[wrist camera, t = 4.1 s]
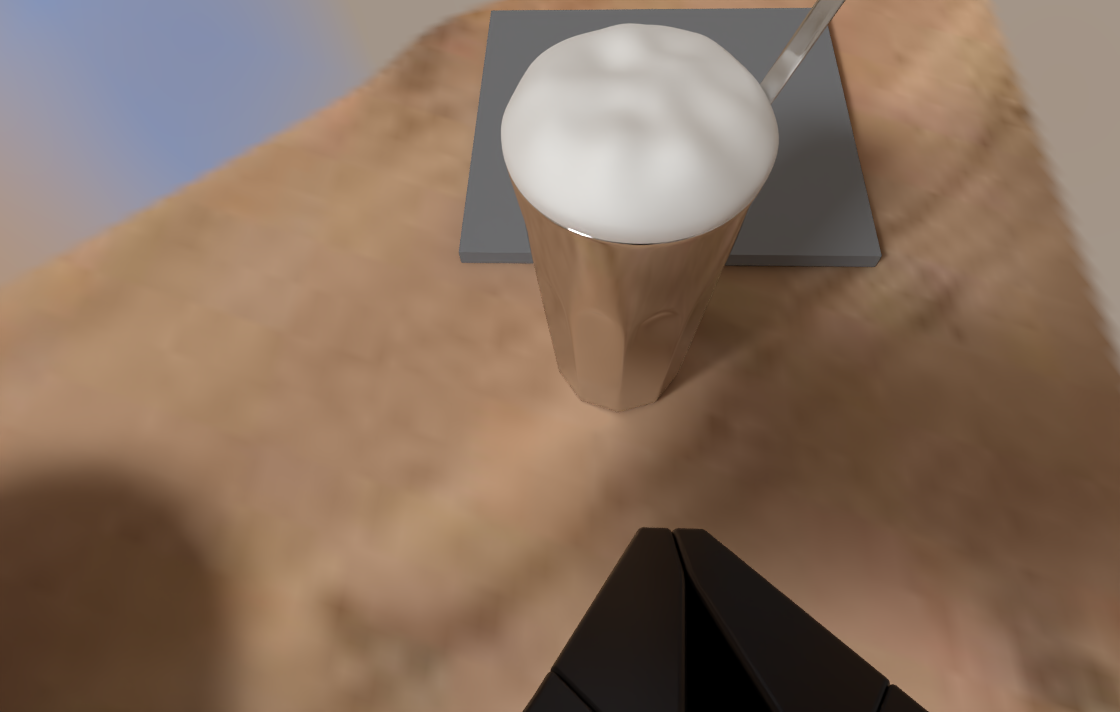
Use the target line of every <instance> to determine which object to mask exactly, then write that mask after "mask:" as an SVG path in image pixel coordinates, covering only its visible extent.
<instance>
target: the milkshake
mask: <svg viewBox="0 0 1120 712" xmlns="http://www.w3.org/2000/svg"><path fill="white" fill-rule="evenodd" d="M844 2H845V0H817V1H816V3H815V4H814V6H813V7H812V9H811V10H810V11H809V13H808V14H807V16H806V17H805V19H804V20H803V22H802V23H801V25H800V26H799V28H798V29H797V31H796V32H795V33H794V35H793V36H792V38H791V39H790V41H789V42H788V44H787V45H786V47H785V48H784V50H783V51H782V53H781V54H780V56H779V57H778V58H777V60H776V61H775V63H774V64H773V66H772V67H771V69H770V70H769V72H768V73H767V75H766V76H765V78H764V79H763V80H762V82H761V83H760V84H759V83H758V81H757V80H756V79H755V78H754V77H753V75H752V74H751V73H750V72H749V71H748V70H747V69H746V68H745V67H744V66H743V65H742V64H741V63H740V62H739V61H738V60H736V59H735V58H734V57H733V56H732V55H731V54H730V53H729V52H728V51H726V50H725V49H724V48H723V47H721V46H720V45H719V44H717V43H716V42H714V41H713V40H711V39H710V38H708V37H706V36H704V35H701V34H698V33H694V32H690V31H686V30H683V29H678V28H674V27H669V26H661V25H645V24H633V23H628V24H619V25H614V26H610V27H607V28H603V29H600V30H596V31H592V32H588V33H584V34H580V35H577V36H574V37H571V38H568V39H566V40H564V41H561V42H559V43H557V44H556V45H554V46H552V47H550V48H549V49H547V50H546V51H544V52H543V53H542V54H541V55H539V56H538V57H537V58H536V59H535V60H534V61H533V62H532V64H531V65H530V66H529V68H528V69H527V71H526V72H525V74H524V75H523V77H522V79H521V80H520V82H519V84H518V86H517V88H516V90H515V91H514V93H513V95H512V97H511V99H510V101H509V103H508V105H507V107H506V109H505V112H504V115H503V118H502V124H501V143H502V151H503V156H504V160H505V163H506V167H507V171H508V174H509V178H510V181H511V185H512V188H513V192H514V195H515V199H516V202H517V206H518V209H519V213H520V216H521V220H522V223H523V227H524V230H525V234H526V237H527V241H528V245H529V248H530V252H531V256H532V259H533V263H534V268H535V272H536V276H537V281H538V285H539V289H540V294H541V298H542V302H543V307H544V311H545V315H546V319H547V323H548V328H549V332H550V336H551V340H552V345H553V349H554V353H555V357H556V361H557V365H558V369H559V372H560V373H561V375H562V376H563V377H564V379H565V380H566V381H567V383H568V384H569V385H570V387H571V388H572V389H573V391H574V392H575V393H576V395H577V396H578V397H579V399H580V400H581V401H584V402H587V403H590V404H593V405H596V406H600V407H603V408H606V409H609V410H612V411H615V412H621V411H625V410H628V409H632V408H636V407H639V406H643V405H647V404H651V403H654V402H656V400H657V399H658V398H659V396H660V395H661V394H662V393H663V391H664V390H665V389H666V388H667V386H668V385H669V384H670V383H671V381H672V380H673V379H674V378H675V376H676V375H677V374H678V372H679V369H680V367H681V365H682V363H683V360H684V358H685V356H686V353H687V351H688V349H689V346H690V344H691V342H692V340H693V337H694V335H695V333H696V330H697V328H698V326H699V323H700V321H701V319H702V316H703V314H704V312H705V309H706V307H707V305H708V302H709V300H710V298H711V296H712V293H713V291H714V288H715V286H716V284H717V281H718V279H719V277H720V274H721V272H722V270H723V268H724V265H725V263H726V261H727V259H728V257H729V255H730V253H731V251H732V249H733V247H734V245H735V243H736V241H737V239H738V237H739V235H740V233H741V231H742V229H743V227H744V225H745V223H746V220H747V218H748V216H749V214H750V212H751V210H752V208H753V206H754V204H755V202H756V200H757V198H758V196H759V194H760V192H761V190H762V188H763V186H764V183H765V181H766V180H767V178H768V176H769V174H770V172H771V170H772V168H773V165H774V163H775V159H776V156H777V152H778V146H779V133H778V126H777V122H776V118H775V115H774V112H773V109H772V107H771V104H772V102H773V101H774V100H775V98H776V97H777V95H778V94H779V93H780V91H781V90H782V88H783V87H784V86H785V84H786V83H787V81H788V80H789V79H790V77H791V76H792V74H793V73H794V72H795V70H796V69H797V67H798V66H799V65H800V63H801V62H802V60H803V59H804V58H805V56H806V55H807V53H808V52H809V51H810V49H811V48H812V46H813V45H814V44H815V42H816V41H817V39H818V38H819V37H820V35H821V34H822V32H823V31H824V30H825V28H826V27H827V25H828V24H829V23H830V21H831V20H832V18H833V17H834V16H835V14H836V13H837V11H838V10H839V9H840V7H841V6H842V4H843V3H844Z"/></svg>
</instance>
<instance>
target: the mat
mask: <svg viewBox="0 0 1120 712" xmlns="http://www.w3.org/2000/svg"><path fill="white" fill-rule="evenodd" d="M811 9H812V8H756V9H634V10H512V11H491V17H490V24H489V32H488V39H487V47H486V54H485V61H484V69H483V76H482V84H481V91H480V98H479V106H478V113H477V121H476V128H475V135H474V143H473V150H472V158H471V165H470V173H469V180H468V187H467V195H466V202H465V210H464V217H463V224H462V232H461V239H460V247H459V255H460V259H461V262H462V263H533V259H532V256H531V252H530V248H529V245H528V241H527V237H526V234H525V230H524V227H523V223H522V220H521V216H520V213H519V209H518V206H517V202H516V199H515V195H514V192H513V188H512V185H511V181H510V178H509V174H508V171H507V167H506V163H505V160H504V156H503V151H502V143H501V124H502V118H503V115H504V112H505V109H506V107H507V105H508V103H509V101H510V99H511V97H512V95H513V93H514V91H515V90H516V88H517V86H518V84H519V82H520V80H521V79H522V77H523V75H524V74H525V72H526V71H527V69H528V68H529V66H530V65H531V64H532V62H533V61H534V60H535V59H536V58H537V57H538V56H539V55H541V54H542V53H543V52H544V51H546V50H547V49H549V48H550V47H552V46H554V45H556V44H557V43H559V42H561V41H564V40H566V39H568V38H571V37H574V36H577V35H580V34H584V33H588V32H592V31H596V30H600V29H603V28H607V27H610V26H614V25H619V24H628V23H633V24H645V25H661V26H669V27H674V28H678V29H683V30H686V31H690V32H694V33H698V34H701V35H704V36H706V37H708V38H710V39H711V40H713V41H714V42H716V43H717V44H719V45H720V46H721V47H723V48H724V49H725V50H726V51H728V52H729V53H730V54H731V55H732V56H733V57H734V58H735V59H736V60H738V61H739V62H740V63H741V64H742V65H743V66H744V67H745V68H746V69H747V70H748V71H749V72H750V73H751V74H752V75H753V77H754V78H755V79H756V80H757V81H758V83H759V84H760V83H761V82H762V80H763V79H764V78H765V76H766V75H767V73H768V72H769V70H770V69H771V67H772V66H773V64H774V63H775V61H776V60H777V58H778V57H779V56H780V54H781V53H782V51H783V50H784V48H785V47H786V45H787V44H788V42H789V41H790V39H791V38H792V36H793V35H794V33H795V32H796V31H797V29H798V28H799V26H800V25H801V23H802V22H803V20H804V19H805V17H806V16H807V14H808V13H809V11H810V10H811ZM771 107H772V109H773V112H774V115H775V118H776V122H777V126H778V133H779V146H778V152H777V156H776V159H775V163H774V165H773V168H772V170H771V172H770V174H769V176H768V178H767V180H766V181H765V183H764V186H763V188H762V190H761V192H760V194H759V196H758V198H757V200H756V202H755V204H754V206H753V208H752V210H751V212H750V214H749V216H748V218H747V220H746V223H745V225H744V227H743V229H742V231H741V233H740V235H739V237H738V239H737V241H736V243H735V245H734V247H733V249H732V251H731V253H730V255H729V257H728V259H727V261H726V263H725V265H758V266H858V267H875V266H876V264H877V263H878V261H879V260H880V258H881V256H882V255H881V251H880V247H879V243H878V238H877V234H876V230H875V225H874V221H873V217H872V213H871V208H870V204H869V200H868V195H867V191H866V187H865V183H864V178H863V174H862V170H861V166H860V161H859V157H858V153H857V148H856V144H855V140H854V136H853V131H852V127H851V123H850V118H849V114H848V110H847V106H846V101H845V97H844V93H843V88H842V84H841V80H840V76H839V71H838V67H837V63H836V58H835V54H834V50H833V46H832V41H831V37H830V33H829V29H828V25H827V27H826V28H825V30H824V31H823V32H822V34H821V35H820V37H819V38H818V39H817V41H816V42H815V44H814V45H813V46H812V48H811V49H810V51H809V52H808V53H807V55H806V56H805V58H804V59H803V60H802V62H801V63H800V65H799V66H798V67H797V69H796V70H795V72H794V73H793V74H792V76H791V77H790V79H789V80H788V81H787V83H786V84H785V86H784V87H783V88H782V90H781V91H780V93H779V94H778V95H777V97H776V98H775V100H774V101H773V102H772V104H771Z"/></svg>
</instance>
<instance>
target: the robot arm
mask: <svg viewBox="0 0 1120 712" xmlns="http://www.w3.org/2000/svg"><path fill="white" fill-rule="evenodd" d="M523 712H928V711H927V710H926V709H924V708H923V707H922V706H921V705H919V704H918V703H917V702H916V701H914V700H913V699H912V698H911V697H910V696H908V695H907V694H906V693H905V692H903V691H902V690H901V689H900V688H899V687H897V686H896V685H894V684H891V685H890V682H889V680H888V679H887V678H886V677H885V676H883V675H882V674H881V673H880V672H879V671H877V670H876V669H875V668H874V667H872V666H871V665H870V664H869V663H868V662H866V661H865V660H864V659H863V658H861V657H860V656H859V655H858V654H856V653H855V652H854V651H853V650H852V649H850V648H849V647H848V646H847V645H845V644H844V643H843V642H842V641H841V640H839V639H838V638H837V637H836V636H834V635H833V634H832V633H831V632H830V631H828V630H827V629H826V628H825V627H823V626H822V625H821V624H820V623H818V622H817V621H816V620H815V619H814V618H812V617H811V616H810V615H809V614H807V613H806V612H805V611H804V610H803V609H801V608H800V607H799V606H798V605H796V604H795V603H794V602H793V601H792V600H790V599H789V598H788V597H787V596H785V595H784V594H783V593H782V592H780V591H779V590H778V589H777V588H776V587H774V586H773V585H772V584H771V583H769V582H768V581H767V580H766V579H765V578H763V577H762V576H761V575H760V574H758V573H757V572H756V571H755V570H754V569H752V568H751V567H750V566H749V565H747V564H746V563H745V562H744V561H742V560H741V559H740V558H739V557H738V556H736V555H735V554H734V553H733V552H731V551H730V550H729V549H728V548H727V547H725V546H724V545H723V544H722V543H720V542H719V541H718V540H717V539H716V538H714V537H713V536H712V535H711V534H709V533H708V532H707V531H705V530H703V529H685V528H677V529H675V530H673V532H671V531H670V530H669V529H668V528H648V527H642V528H640V529H639V530H638V531H637V532H636V534H635V535H634V537H633V539H632V540H631V542H630V543H629V545H628V547H627V548H626V550H625V551H624V553H623V555H622V556H621V558H620V559H619V561H618V563H617V564H616V566H615V567H614V569H613V570H612V572H611V574H610V575H609V577H608V578H607V580H606V582H605V583H604V585H603V586H602V588H601V590H600V591H599V593H598V594H597V596H596V598H595V599H594V601H593V602H592V604H591V606H590V607H589V609H588V610H587V612H586V614H585V615H584V617H583V618H582V620H581V622H580V623H579V625H578V626H577V628H576V629H575V631H574V633H573V634H572V636H571V637H570V639H569V641H568V642H567V644H566V645H565V647H564V649H563V650H562V652H561V653H560V655H559V657H558V658H557V660H556V661H555V663H554V665H553V666H552V668H551V671H550V672H549V673H548V674H547V675H546V677H545V678H544V680H543V681H542V683H541V685H540V686H539V688H538V689H537V691H536V693H535V694H534V696H533V697H532V699H531V700H530V702H529V703H528V705H527V706H526V707H525V709H524V710H523Z"/></svg>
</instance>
